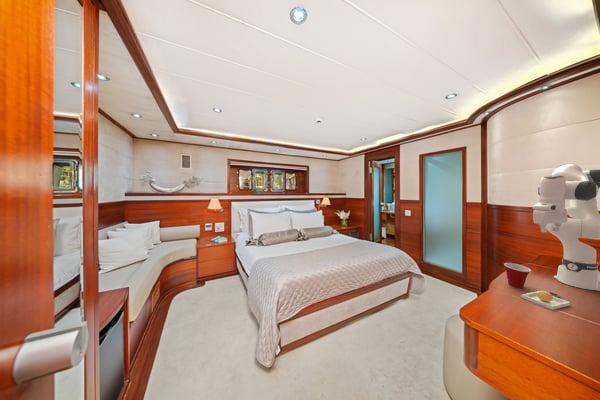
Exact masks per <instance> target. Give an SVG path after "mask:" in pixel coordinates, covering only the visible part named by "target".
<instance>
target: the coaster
mask: <svg viewBox="0 0 600 400" xmlns="http://www.w3.org/2000/svg"><path fill="white" fill-rule="evenodd" d="M545 291H546V292H549V291H547V290H545ZM549 293H550V294H551V295H552V296H554V297H556V298H559V299H562V300H563V299H564V298H565V299H566V297H564V296H561V295H558V293H555V292H552V291H550V292H549Z"/></svg>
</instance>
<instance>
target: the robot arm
mask: <svg viewBox="0 0 600 400" xmlns="http://www.w3.org/2000/svg"><path fill="white" fill-rule="evenodd" d="M537 188H538V190H537V193H538V196H539V198H538V202H537V203H536V204H533V205H532V210H533V211H532V221H533V223H534V224H536V225H539V228H540V232H541V233H548V232H549V233H550V234H552V235H553V236H555V237H556V238H557V239H558V240H559V241H560V242H561V245H562V246H563V247H562V248H563V257H562V259H561V264H560V265H558V268H557V273H556V275H553V278H554V279H556V280H557V281H558V282H560V283H562V284H565V285H568V286H571V287H575V288H579V289H585V290H590V291H597V292H600V270H599V266H600V262H597V249H595V248H594V247H593V246H591V245H589V244H586V243H584V242H582V241H580V240H579V238H582V239H591V240H600V213H599V211H598V202H597V196H598V195H599V189H600V169H590V170H583V169H582V167H580V165H578V164H574V163H569V164H564V165H562V166H561V165H560V166H559V167H557V168H556V169H555V170H554V171H553V172H552V173H551V175H546V176H542V177H541V180H540V184H539V186H538V187H537ZM568 216H569V217H568Z"/></svg>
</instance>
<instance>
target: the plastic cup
mask: <svg viewBox="0 0 600 400" xmlns="http://www.w3.org/2000/svg"><path fill="white" fill-rule="evenodd" d="M503 265H504V268H505V273H506V279H507V283H508V285H509V286H511V287H514V288H516V289H517V288H518V289H523V288H524V286H525V283H526V280H527V278H528V275H529V274H530V272H531V271H532V269H530V268H529V267H527V266H524V265H522V264H518V263H513V262H505V263H503Z"/></svg>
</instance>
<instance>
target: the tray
mask: <svg viewBox="0 0 600 400" xmlns="http://www.w3.org/2000/svg"><path fill="white" fill-rule="evenodd" d="M539 291H540V290H537V291H532V292H527V293H523V294H521V295H520V296H521V297H520V298H521V299H524V300H526V301H528V302H531V303H533V304H535V305H539V306H541V307H543V308H546V309H547V310H551V311H554V310H558V309H562V308H566V307H571V302H570V301H567V300H564V299H563V298H562V299H559V298H556V297H554V296H552V297H553V299H552V301H550V302H545V301H542V300H541V299H539V298H538V296H537V293H538V292H539Z"/></svg>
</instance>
